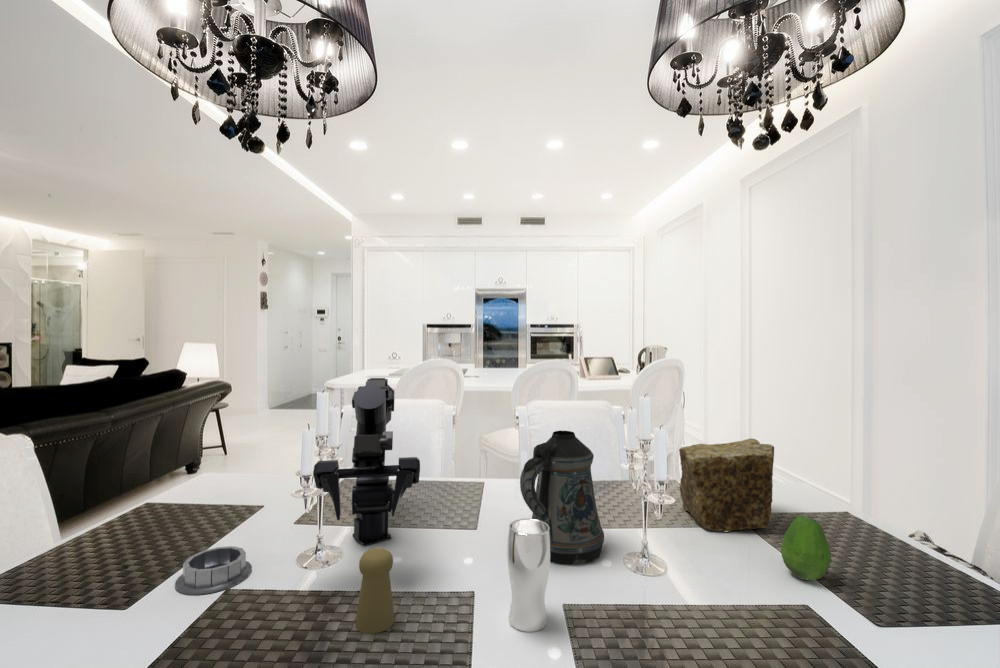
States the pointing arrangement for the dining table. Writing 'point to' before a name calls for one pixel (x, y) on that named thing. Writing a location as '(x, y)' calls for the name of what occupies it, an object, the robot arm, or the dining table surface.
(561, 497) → the beer stein
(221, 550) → the duct collar
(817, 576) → the avocado
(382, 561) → the olive game pawn
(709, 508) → the decorative stone
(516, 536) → the beer glass
